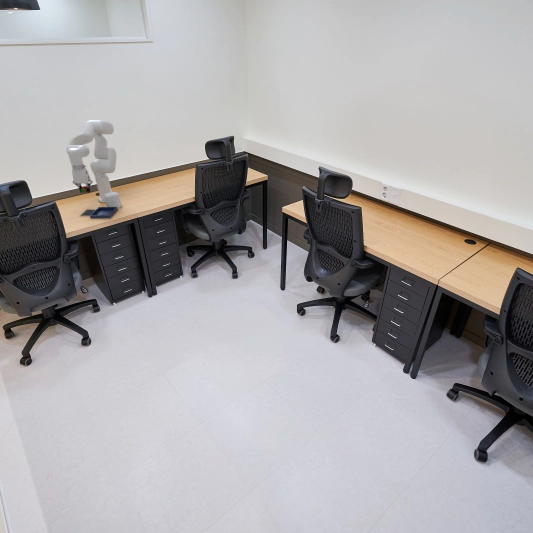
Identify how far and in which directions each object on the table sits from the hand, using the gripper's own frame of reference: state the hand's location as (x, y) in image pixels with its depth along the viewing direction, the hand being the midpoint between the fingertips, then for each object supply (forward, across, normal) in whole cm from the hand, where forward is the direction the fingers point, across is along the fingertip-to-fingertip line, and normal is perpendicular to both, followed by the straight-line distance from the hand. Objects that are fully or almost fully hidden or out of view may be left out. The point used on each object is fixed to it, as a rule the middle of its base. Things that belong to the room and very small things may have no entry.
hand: (85, 191), depth 253 cm
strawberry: (0, 0, 0) cm, 1 cm away
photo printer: (+17, -13, -11) cm, 24 cm away
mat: (+17, +3, -1) cm, 17 cm away
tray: (+17, -10, +1) cm, 20 cm away
